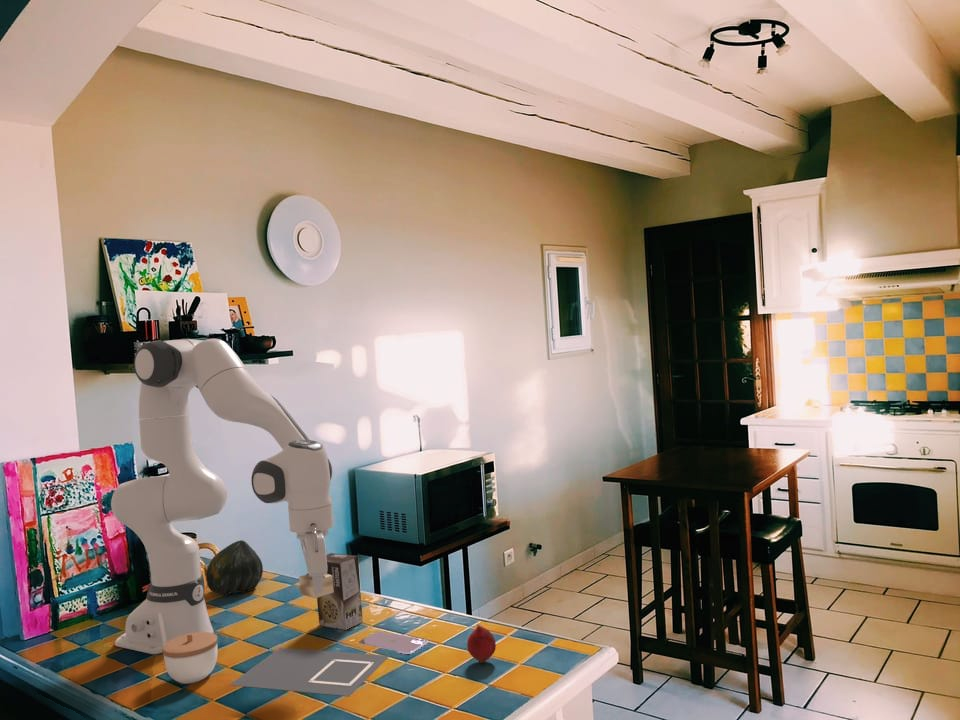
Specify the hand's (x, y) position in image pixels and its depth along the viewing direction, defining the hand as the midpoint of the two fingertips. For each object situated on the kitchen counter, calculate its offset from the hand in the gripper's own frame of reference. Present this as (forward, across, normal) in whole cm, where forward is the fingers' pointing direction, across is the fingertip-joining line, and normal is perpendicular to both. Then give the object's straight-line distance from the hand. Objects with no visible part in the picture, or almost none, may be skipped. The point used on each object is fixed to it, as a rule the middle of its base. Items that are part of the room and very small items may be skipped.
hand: (316, 586), depth 154 cm
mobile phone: (+18, +9, -16) cm, 26 cm away
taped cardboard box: (+1, 0, 0) cm, 1 cm away
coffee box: (+17, +26, -6) cm, 32 cm away
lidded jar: (+18, +10, +26) cm, 33 cm away
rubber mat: (+18, +2, +2) cm, 18 cm away
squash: (+16, +66, +18) cm, 70 cm away
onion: (+18, -10, -31) cm, 38 cm away
